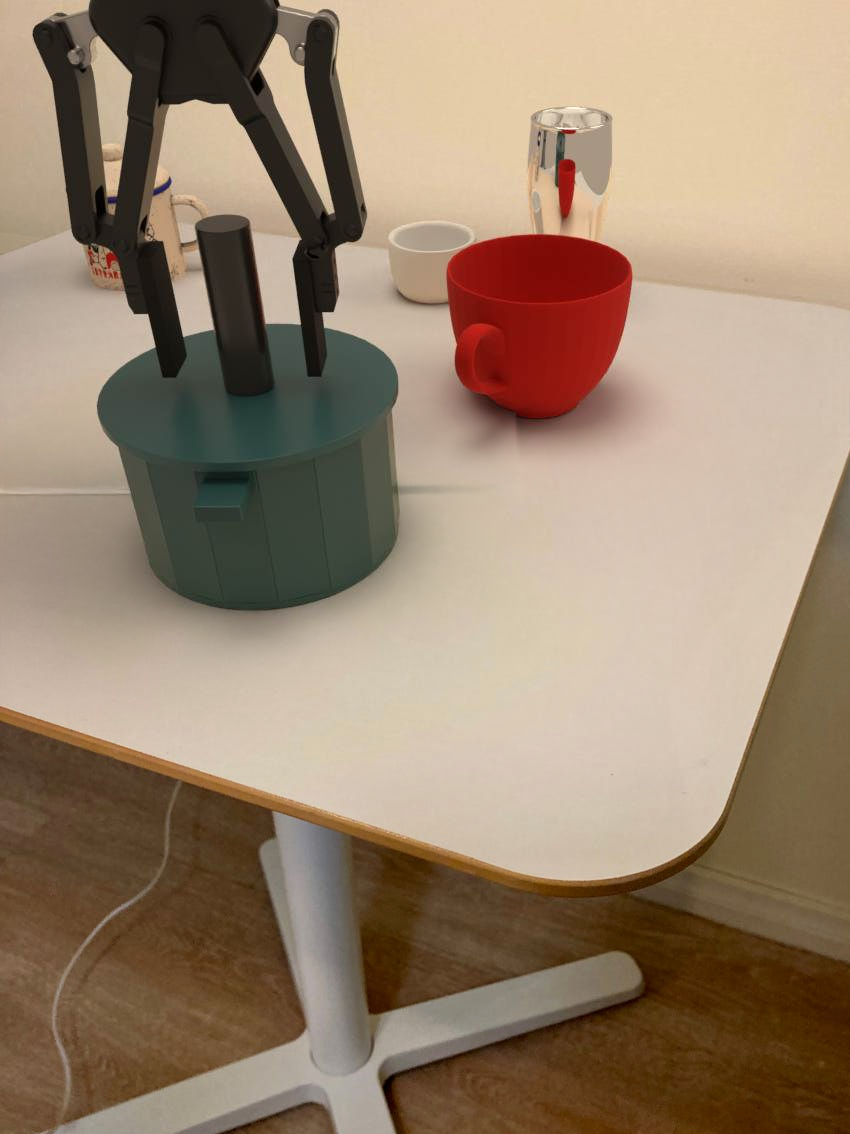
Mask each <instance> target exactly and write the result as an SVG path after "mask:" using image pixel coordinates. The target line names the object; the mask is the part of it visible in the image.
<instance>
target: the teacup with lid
mask: <svg viewBox="0 0 850 1134" xmlns="http://www.w3.org/2000/svg"><path fill="white" fill-rule="evenodd" d="M123 151H124V147H123V146H122V145H121V144H119V143H114V142H113V143H111V142H110V143H105V144H102V153H103V162H104V172H105V181H106V190H107V200H108V209H109V213H110V214H113V215H114V213H115V207H116V200H117V193H118V186H119V179H120V172H121V165H122V158H123ZM171 185H172V177H171V176H170V174H169V172H168V171H167V169H166V168H165V167H163V166H162V165H160V164H158V167H157V173H156V179H155V185H154V191H153V197H152V203H151V209H150V215H149V221H148V227H147V228H150V230H149V232H148V234H147V235H146V236H145V241H146V245H147V243H148V242H149V241H163V243H164V247H165V252H166V257H167V262H168V267H169V271H170V276H171V281H172V283H173V282H175V281H177V280H178V279H180V278H181V277H182V276H184V274H185V273H186V271H187V266H186V261H185V256H184V253H185V254H186V253H192V252H195V251H197V250H199V248H198V243H197V238H196V239H194V240H191V241H186V242H182V240H181V236H180V235H181V234H180V231H179V225H178V220H177V215H176V209H175V206H180V205H181V206H184V205H185V206H189V207H192V208H194V209H195V210H196V211H197V212H198V213H199V215H200V216H201V219H204V218H207V217H210V216H211V213H210V210H209V208H208V206H207V205H206V204H205V203H204V202H203V200H201V199H199V198H198V197H196V196H194V195H190V194H183V193H182V194H172V189H171ZM65 193H66V194H67V192H66V191H65ZM82 248H83V251H84V257H85V259H86V264H87V267H88V271H89V276H90V278H91V281H92V283H93V284H94V285H95V286H97V287H99V288H101V289H103V290H109V291H115V292H116V291H117V292H125V289H124V285H123V281H122V276H121V272H120V268H119V264H118V260H117V258H116V256H115V255H114V253H113V252H112V251H110V250H109V249H107V248H105V247H102V246H99V245H96V244H93V243H92V244H90V245H83V244H82Z"/></svg>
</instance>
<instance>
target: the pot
mask: <svg viewBox="0 0 850 1134" xmlns="http://www.w3.org/2000/svg"><path fill="white" fill-rule="evenodd" d="M393 421H394V420H393V409H392V410H391V412H390V413H389V414H388V415H387V417H386V418H385V419H384V420H383V421H382V422H381V423H380V424H379V425H378V426H376V427H375V428H374V429H373V430H372V431H370V432H369V433H367V434H366V435H364V436H363V437H361V438H360V439H358V440H356V441H354V442H352V443H350V444H348V445H346V446H345V447H342V448H340V449H337V450H335V451H333V452H330V453H328V454H325V455H322V456H319V457H316V458H313V459H310V460H306V461H302V462H298V463H294V464H290V465H286V466H280V467H274V468H268V469H261V470H251V471H239V472H201V471H191V470H182V469H176V468H171V467H165V466H161V465H157V464H154V463H151V462H147V461H144V460H142V459H140V458H137V457H135V456H132V455H130V454H129V453H127V452H125V451H124V450H122V449H120V448H119V447H118V446H117V449H118V453H119V456H120V459H121V463H122V467H123V470H124V475H125V478H126V481H127V487H128V489H129V493H130V497H131V501H132V504H133V508H134V511H135V514H136V518H137V522H138V525H139V529H140V533H141V536H142V541H143V544H144V548H145V552H146V555H147V559H148V563H149V566H150V569H152V571H153V572H154V574H155V575H156V577H157V578H158V579H159V580H160V581H161V582H162V583H163V584H164V585H165V586H166V587H167V588H169V589H170V590H172V591H174V592H175V593H177V594H178V595H181V596H182V597H185V598H187V599H188V600H191V601H195V602H196V603H197V602H198V603H200V604H204V605H207V606H212V607H217V608H222V609H231V610H242V611H243V610H246V611H249V610H250V611H258V610H276V609H283V608H290V607H295V606H299V605H304V604H308V603H311V602H316V601H319V600H322V599H325V598H327V597H330V596H333V595H336V594H338V593H340V592H342V591H344V590H346V589H348V588H351V587H353V586H354V585H356V584H357V583H359V582H361V581H362V580H364V579H365V578H367V577H368V576H369V575H370V574H372V573H373V572H374V571H375V570H377V569H378V568H379V566H380V565H381V564H382V563H384V562H385V560H386V559H387V557H388V556H389V555H390V553H391V552H392V550H393V549H394V546H395V544H396V542H397V538H398V534H399V519H400V502H399V487H398V486H399V485H398V474H397V462H396V449H395V448H396V447H395V435H394V422H393Z"/></svg>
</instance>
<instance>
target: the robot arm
mask: <svg viewBox="0 0 850 1134" xmlns="http://www.w3.org/2000/svg"><path fill="white" fill-rule="evenodd" d="M88 2H89V3H88V9H86V10H82V11H79V12H75V13H70V14H67V13H65V12H55V13H53V14H52V15H50V16H48V17H46V18H45V19H43V20H41V21H40V22H38V23H37V24H35V25H34V26H33V29H32V33H31V35H32V40H33V42H34V45H35V47H36V49H37V51H38V54H39V56H40V58H41V60H42V63H43V64H44V67H45V69H46V71H47V73H48V76H49V78H50V81H51V84H52V93H53V100H54V107H55V115H56V123H57V130H58V131H57V132H58V138H59V145H60V154H61V161H62V168H63V175H64V183H65V193H66V192H67V193H66V200H67V206H68V214H69V215H68V216H69V221H70V229H71V235H72V237H73V238H74V240H75V241H76V242H78V243H79V244H81V245H82V246H83V245H90V244H92V243H93V244H96V245H99V246H102V247H105V248H107V249H109V250H110V251H112V252H113V253H114V255H115V256H116V258H117V260H118V264H119V268H120V272H121V276H122V281H123V285H124V289H125V291H124V292H125V296H126V301H127V305H128V307H129V308H130V310H131V311H132V313H133V315H147V316H148V320H149V325H150V329H151V333H152V336H153V337H152V338H153V342H154V346H155V347H156V351H157V355H158V360H159V364H160V369H161V373H162V377H163V378H176V377H177V375H178V373H179V371H180V369H181V367H182V365H183V363H184V361H185V359H186V357H187V353H186V348H185V343H184V338H183V337H184V334H183V329H182V325H181V321H180V320H181V319H180V315H179V310H178V305H177V300H176V296H175V291H174V287H173V286H174V285H173V282H172V281H171V276H170V271H169V267H168V262H167V257H166V252H165V247H164V243H163V241H149V242H148V243H147V245H146V241H145V236H146V235H147V234H148V232H149V230H150V228H147V227H148V221H149V215H150V209H151V203H152V197H153V191H154V185H155V179H156V173H157V167H158V165H159V161H160V155H161V150H162V149H161V148H162V143H163V136H164V130H165V125H166V119H167V115H168V112H169V109H170V105H178V106H179V105H183V104H185V103H189V102H191V101H199V102H204V103H207V104H211V105H228V106H229V108H230V110H231V112H232V114H233V116H234V118H235V120H236V121H237V123H238V124H239V125H240V126H241V127H242V128H243V129H244V130H245V132H246V134H247V136H248V138H249V140H250V142H251V144H252V146H253V148H254V150H255V152H256V153H257V155H258V157H259V160H260V162H261V163H262V166H263V167H264V169H265V172H266V173H267V175H268V177H269V179H270V181H271V183H272V185H273V187H274V189H275V191H276V192H277V195H278V196H279V199H280V200H281V203H282V204H283V206H284V208H285V210H286V212H287V214H288V216H289V218H290V220H291V222H292V224H293V226H294V228H295V229H296V231H297V233H298V235H299V237H300V239H299V240H298V243H297V245H296V248H295V251H294V253H293V256H292V258H291V259H292V267H293V268H292V269H293V274H294V282H295V290H296V298H297V306H298V312H299V313H298V315H299V321H300V325H301V330H302V337H303V345H304V353H305V360H306V368H307V376H308V377H321V376H322V372H323V369H324V365H325V362H326V358H327V348H326V339H325V331H324V328H325V322H324V314H323V313H334V312H335V309H336V306H337V303H338V299H339V296H340V285H339V275H338V267H337V256H336V249H337V248H338V247H339V246H341V245H344V244H346V243H356V242H358V241H359V240H361V239H362V236H363V234H364V230H365V227H366V223H367V221H368V220H367V219H368V211H367V206H366V201H365V196H364V191H363V186H362V183H361V177H360V173H359V169H358V168H359V167H358V164H357V158H356V155H355V150H354V144H353V141H352V136H351V135H352V134H351V131H350V126H349V121H348V116H347V112H346V107H345V103H344V98H343V94H342V88H341V84H340V79H339V75H338V69H337V66H336V65H337V56H338V48H339V47H338V46H339V40H340V39H339V38H340V28H341V25H340V19H339V17H338V14H336V13H335V11H334V10H331V9H329V8H322V9H320V10H318V11H317V12H316V13H315V12H311V11H307V10H304V9H303V10H302V9H297V8H293V7H289V6H285V5H281V2H280V1H279V0H89V1H88ZM276 35H279V36H280V37H282V38H283V39H284V40H285V41H286V43H287V45H288V49H289V50H288V51H289V55H290V57H291V59H292V61H293V62H294V63H295V64H297V65H299V66H301V67H303V76H304V86H305V90H306V96H307V101H308V104H309V108H310V113H311V117H312V121H313V122H312V123H313V127H314V130H315V135H316V139H317V144H318V147H319V148H318V149H319V151H320V156H321V160H322V165H323V169H324V173H325V178H326V181H327V182H326V183H327V186H328V190H329V194H330V199H331V204H332V207H333V211H334V212H332V213H329V211H328V210H327V208H326V206H325V204H324V202H323V200H322V198H321V195H320V194H319V192H318V190H317V188H316V186H315V183H314V181H313V179H312V177H311V175H310V173H309V171H308V169H307V167H306V165H305V163H304V161H303V159H302V157H301V155H300V153H299V151H298V149H297V147H296V144H295V142H294V141H293V138H292V137H291V134H290V133H289V130H288V128H287V126H286V124H285V123H284V120H283V118H282V116H281V114H280V112H279V110H278V107H277V106H276V104H275V99H274V95H273V91H272V90H271V87H270V85H269V84H268V81H267V80H266V77H265V75H264V73H263V71H262V69H261V65H262V62H263V60H264V58H265V56H266V55H267V52H268V51H269V48H270V47H271V44H272V43H273V40H274V38H275V37H276ZM98 38H99V39H100V40H101V41H102V42H103V43H104V44H105V46H106V47H107V48H108V49H109V51H111V53H112V54H113V55H114V56H115V57H116V58H117V60H118V61H119V62H120V63H121V64H122V65H123V67H125V69H126V70H127V71H128V72H129V73H130V75H131V80H130V87H129V93H128V95H129V96H128V101H127V108H126V116H127V124H126V132H125V138H124V147H123V158H122V165H121V172H120V179H119V186H118V193H117V200H116V207H115V213H114V215H113V214H110V213H109V209H108V200H107V190H106V181H105V172H104V162H103V153H102V145H103V144H102V136H101V126H100V117H99V108H98V99H97V98H98V97H97V90H96V89H97V88H96V79H95V75H94V71H93V67H92V64H93V63H94V62H95V61H96V59H97V58H98V50H97V44H96V43H97V40H98ZM155 347H154V348H155Z"/></svg>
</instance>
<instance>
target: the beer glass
mask: <svg viewBox="0 0 850 1134" xmlns="http://www.w3.org/2000/svg"><path fill="white" fill-rule="evenodd" d="M529 118H530V119H529V121H530V123H529V124H530V125H529V135H528V144H527V145H528V146H527V159H526V192H527V202H528V203H527V204H528V212H529V217H530V224H531V225H530V226H531V231H532V234H551V235H564V236H571V237H578V238H583V239H587V240H591V241H595V242H598V243H600V238H601V236H602V235H601V234H602V230H603V226H604V222H605V218H606V212H607V208H608V203H609V198H610V192H611V185H612V173H613V120H614V119H613V116H612V115H611V114H610V113H609V112H607V111H604V110H601V109H598V108H593V107H585V106H557V107H550V108H545V109H544V108H543V109H541V110H538V111H535V112H534V113H532V114H531V116H530V117H529Z"/></svg>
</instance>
